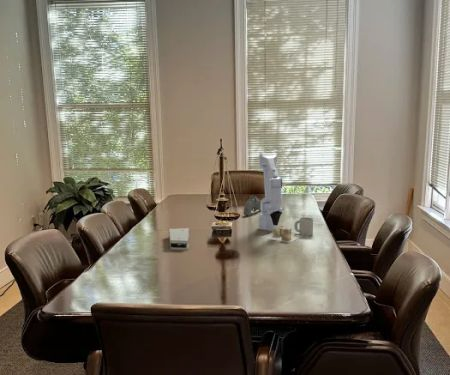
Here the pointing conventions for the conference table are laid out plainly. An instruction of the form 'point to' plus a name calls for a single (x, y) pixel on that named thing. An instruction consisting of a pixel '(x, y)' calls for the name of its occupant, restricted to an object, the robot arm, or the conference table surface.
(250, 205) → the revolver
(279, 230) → the walnut block
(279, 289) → the conference table surface
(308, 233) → the cup
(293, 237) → the mat
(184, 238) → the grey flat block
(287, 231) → the oak block
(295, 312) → the conference table surface
